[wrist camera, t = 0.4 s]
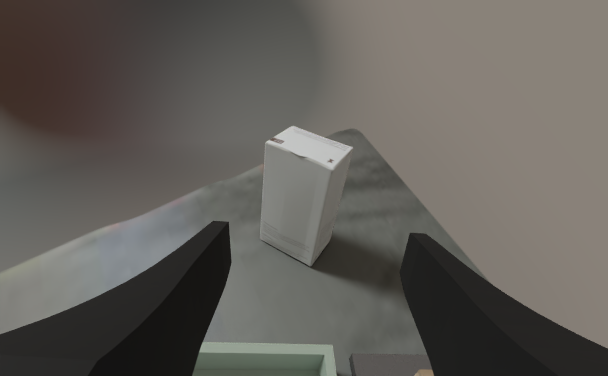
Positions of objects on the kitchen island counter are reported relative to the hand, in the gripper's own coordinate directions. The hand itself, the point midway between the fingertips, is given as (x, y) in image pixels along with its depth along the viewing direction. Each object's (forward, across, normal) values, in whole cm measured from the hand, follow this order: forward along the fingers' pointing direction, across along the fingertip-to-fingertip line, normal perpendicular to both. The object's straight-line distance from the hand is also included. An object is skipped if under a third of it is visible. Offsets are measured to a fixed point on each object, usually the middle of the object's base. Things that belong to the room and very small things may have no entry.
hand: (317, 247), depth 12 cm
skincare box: (+23, +2, +17) cm, 29 cm away
